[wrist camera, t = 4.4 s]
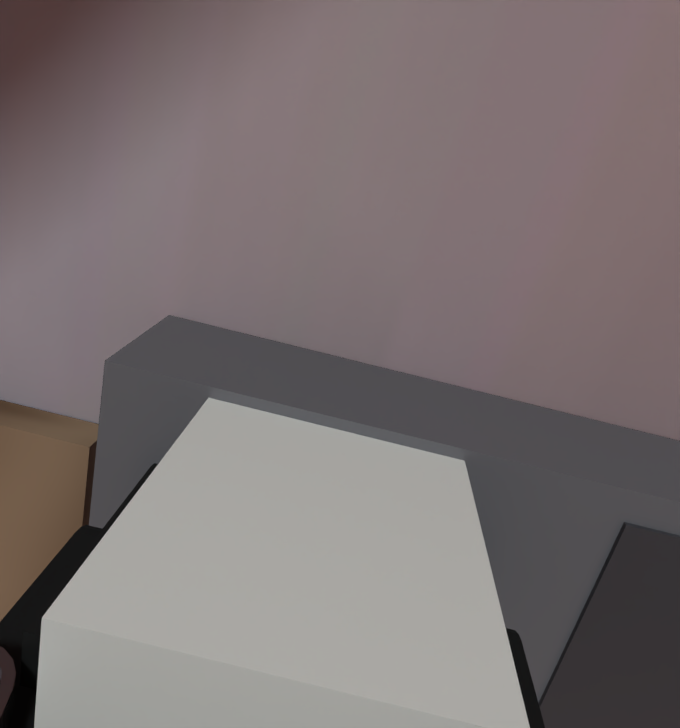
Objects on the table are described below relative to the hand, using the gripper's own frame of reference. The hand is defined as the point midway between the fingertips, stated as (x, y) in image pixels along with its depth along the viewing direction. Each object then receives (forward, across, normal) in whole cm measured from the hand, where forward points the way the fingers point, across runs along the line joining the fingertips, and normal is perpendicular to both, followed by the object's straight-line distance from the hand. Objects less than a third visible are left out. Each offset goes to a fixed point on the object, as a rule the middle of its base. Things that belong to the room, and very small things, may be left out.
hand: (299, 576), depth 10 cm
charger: (+2, 0, 0) cm, 2 cm away
